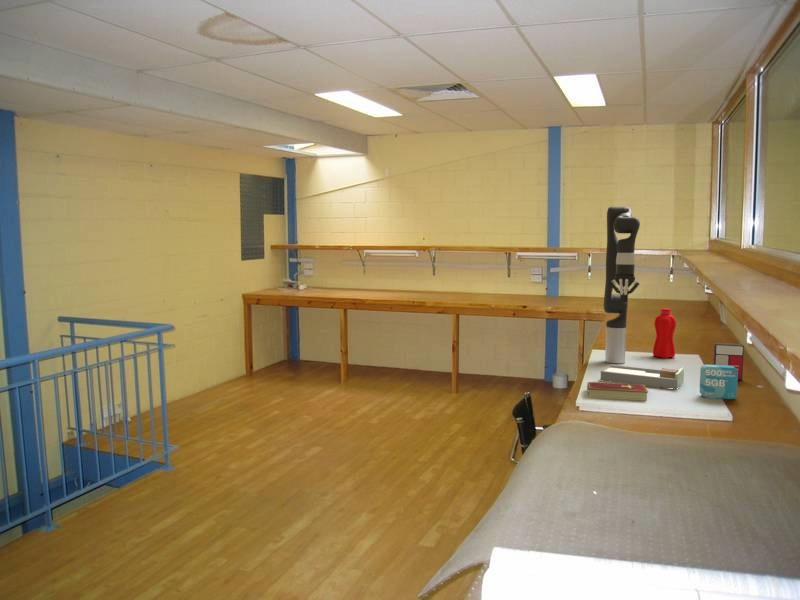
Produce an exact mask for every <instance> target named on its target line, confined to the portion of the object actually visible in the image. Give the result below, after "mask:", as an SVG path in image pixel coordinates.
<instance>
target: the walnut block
mask: <svg viewBox="0 0 800 600" xmlns="http://www.w3.org/2000/svg"><path fill="white" fill-rule="evenodd" d="M659 370H660V377H662V378H671V379H675V374H676V373H677V372H678V371H679V369H676V368H675V369H674V368H668V367H667V368H666V367H663V368H662V367H661V369H659Z"/></svg>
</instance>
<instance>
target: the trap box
mask: <svg viewBox="0 0 800 600" xmlns="http://www.w3.org/2000/svg"><path fill="white" fill-rule="evenodd" d="M684 368H685V367H680V369H678V372H677V373H676V374H675V379H671V378H662V377H660V370H661V369H656V368H646V367H637V366H627V365H618V364H617V365H616V364H610V367H608V368H606V369H605V370H601V371H600V380H603V382H609V381H611V382H610V383H619V384H625V383H626V384H637V385H645V387H651V386H652V387H653V388H659V387H663V388H662V389H667V388H673V389H672V390H676V389H677V388H678V387H679V386H680V387H681V385H682V384H683V383H684V382H683V381H684V380H685V379H684V377H685V369H684ZM652 387H651V388H652ZM678 389H679V388H678ZM678 389H677V390H678Z"/></svg>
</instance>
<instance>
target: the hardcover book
mask: <svg viewBox="0 0 800 600" xmlns="http://www.w3.org/2000/svg"><path fill="white" fill-rule="evenodd" d="M586 384H587V385H586V387H587V388H586V389H587V390H586V391H588V390H589V391H588V395H590V396H589V398H594V397H597V398H596V399H598V398H599V399H611V400H612V399H613V400H630V401H644V402H646V401H648V400H647V399H648V393H649V390H648V389H647V386H645V385H637V384H625V383H617V382H596V381H587V383H586Z"/></svg>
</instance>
